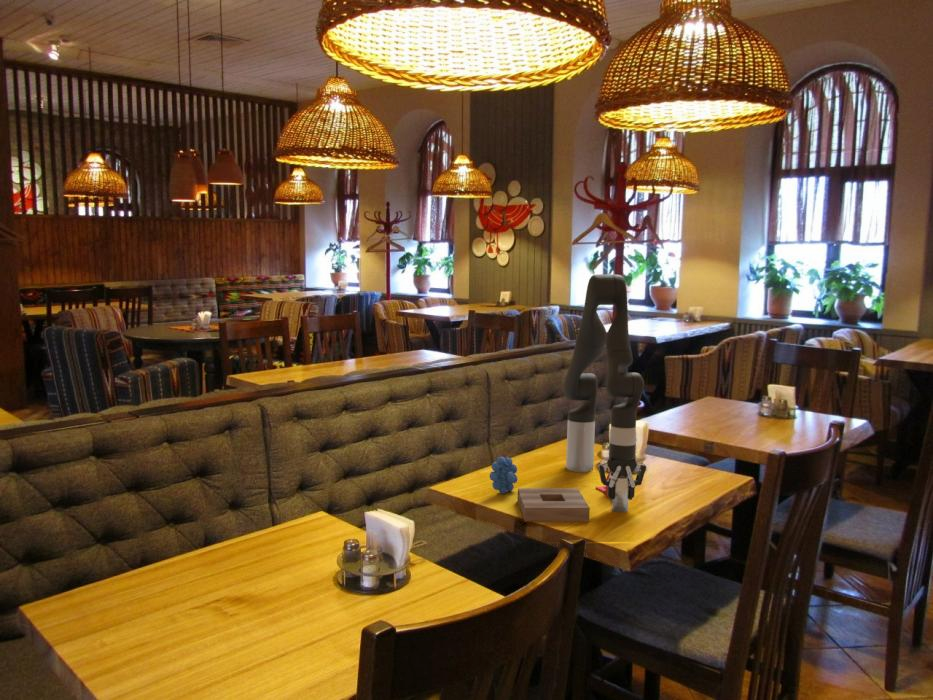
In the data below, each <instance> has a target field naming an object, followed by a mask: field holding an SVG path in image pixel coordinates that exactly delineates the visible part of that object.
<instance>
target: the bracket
mask: <svg viewBox="0 0 933 700" xmlns="http://www.w3.org/2000/svg"><path fill="white" fill-rule="evenodd" d="M610 473H611V472H609V473H608V474H607V475H606V480H607V481H608V479H609V476H610ZM597 489H598V490H597ZM607 489H608V486H606V485H602V486H601V485H600V486H595V490H597V491H600V492H601V493H603V494H606V495H607Z"/></svg>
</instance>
